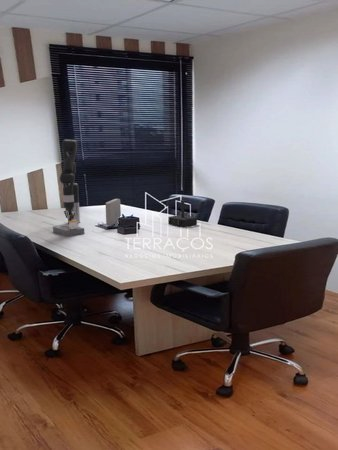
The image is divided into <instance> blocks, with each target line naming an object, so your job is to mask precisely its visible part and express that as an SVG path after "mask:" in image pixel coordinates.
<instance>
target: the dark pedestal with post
mask: <svg viewBox="0 0 338 450" xmlns="http://www.w3.org/2000/svg"><path fill="white" fill-rule="evenodd" d="M185 203H186V200H184V199H181V200H180V208H181V209H180V211H181V212H180V213H181V214H178V215H172V216H168V217H167V219H168V225H171V226H176V227H182V228H188V227H193V226H197V224H198V217H196V216H189V215H185Z"/></svg>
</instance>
